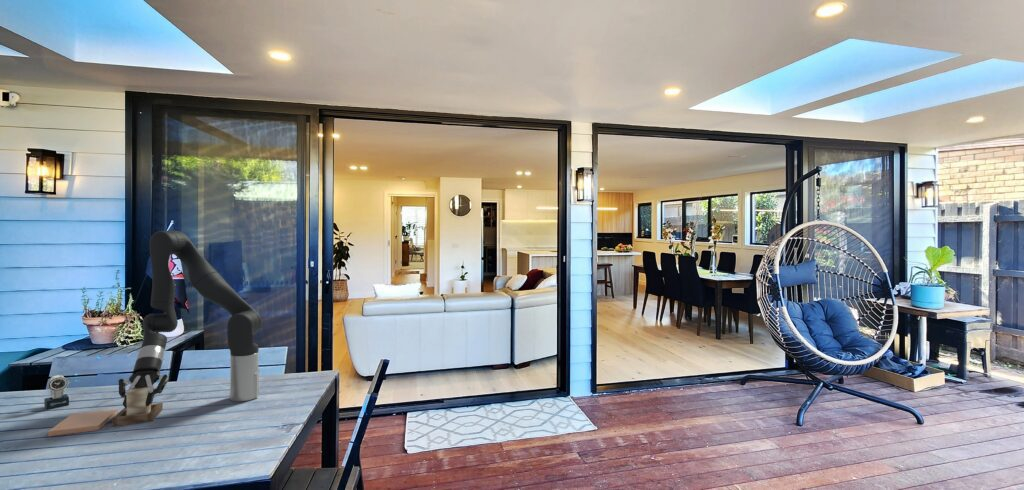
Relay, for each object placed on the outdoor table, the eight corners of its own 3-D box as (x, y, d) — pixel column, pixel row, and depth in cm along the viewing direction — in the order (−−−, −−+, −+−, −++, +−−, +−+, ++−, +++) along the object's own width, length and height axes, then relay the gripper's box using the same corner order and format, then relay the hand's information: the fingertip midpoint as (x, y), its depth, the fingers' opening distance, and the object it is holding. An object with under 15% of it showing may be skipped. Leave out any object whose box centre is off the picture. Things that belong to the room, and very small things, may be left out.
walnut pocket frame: (162, 409, 155) (162, 402, 155) (152, 421, 145) (152, 413, 145) (125, 413, 151) (125, 406, 151) (112, 426, 141) (112, 418, 141)
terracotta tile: (117, 413, 151) (117, 408, 151) (98, 429, 138) (98, 425, 138) (71, 418, 146) (71, 414, 146) (48, 436, 134) (48, 431, 134)
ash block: (150, 412, 151) (150, 386, 151) (145, 417, 147) (145, 391, 147) (132, 414, 149) (132, 388, 149) (126, 420, 145) (126, 393, 145)
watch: (47, 411, 151) (47, 380, 151) (43, 406, 156) (43, 375, 156) (70, 406, 156) (70, 376, 156) (65, 401, 161) (65, 371, 160)
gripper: (121, 357, 152) (105, 404, 141) (171, 353, 157) (160, 398, 147) (127, 368, 157) (113, 414, 146) (176, 364, 162) (165, 407, 152)
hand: (136, 405), depth 146 cm, fingers closed on ash block, 5 cm apart
